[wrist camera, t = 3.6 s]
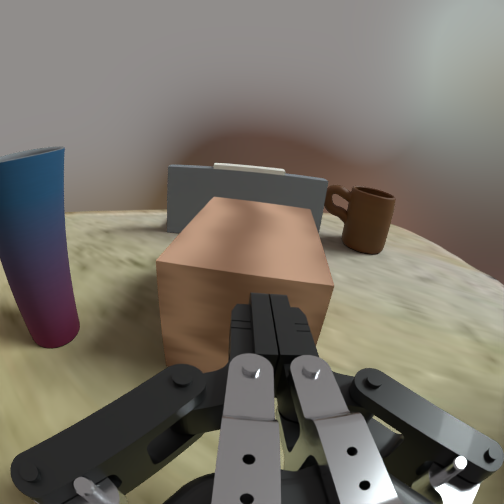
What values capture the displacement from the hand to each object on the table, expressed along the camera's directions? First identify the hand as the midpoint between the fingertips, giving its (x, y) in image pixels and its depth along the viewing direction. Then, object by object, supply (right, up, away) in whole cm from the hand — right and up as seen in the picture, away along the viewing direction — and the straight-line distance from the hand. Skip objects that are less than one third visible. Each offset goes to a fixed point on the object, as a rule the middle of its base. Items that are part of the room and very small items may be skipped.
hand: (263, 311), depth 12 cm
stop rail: (-2, +6, +34) cm, 35 cm away
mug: (+16, +4, +35) cm, 38 cm away
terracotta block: (-1, -4, +14) cm, 15 cm away
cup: (-18, -5, +8) cm, 20 cm away
